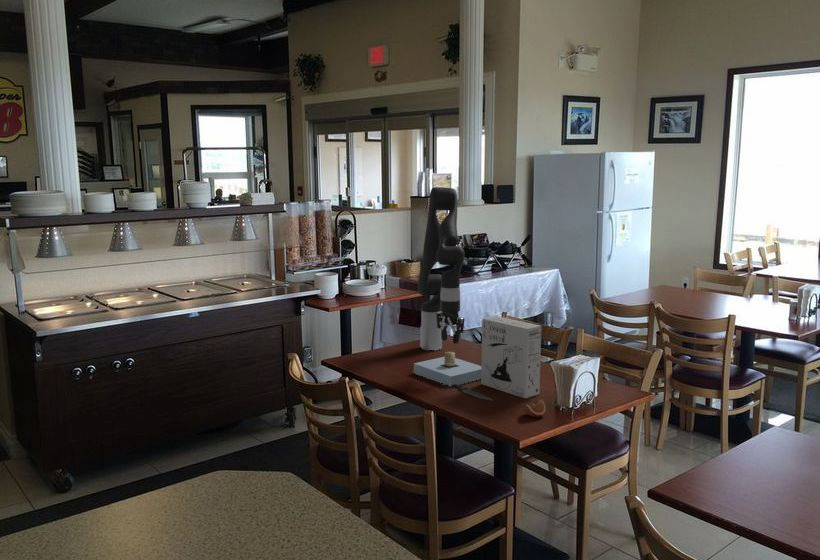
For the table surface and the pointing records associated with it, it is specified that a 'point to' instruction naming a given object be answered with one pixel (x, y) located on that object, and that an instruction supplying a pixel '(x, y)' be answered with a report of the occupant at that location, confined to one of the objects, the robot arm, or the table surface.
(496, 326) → the cereal box
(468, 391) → the knife
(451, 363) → the peg
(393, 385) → the table surface
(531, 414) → the fruit slice
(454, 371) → the board
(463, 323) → the robot arm
